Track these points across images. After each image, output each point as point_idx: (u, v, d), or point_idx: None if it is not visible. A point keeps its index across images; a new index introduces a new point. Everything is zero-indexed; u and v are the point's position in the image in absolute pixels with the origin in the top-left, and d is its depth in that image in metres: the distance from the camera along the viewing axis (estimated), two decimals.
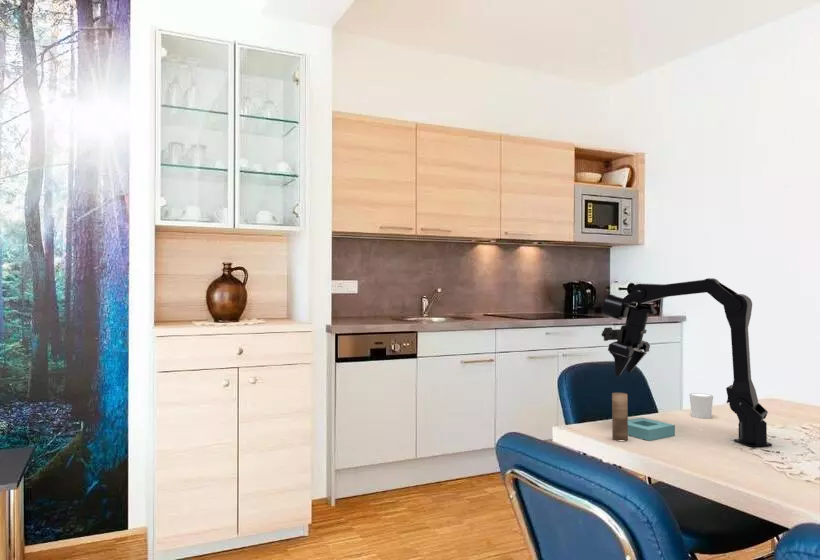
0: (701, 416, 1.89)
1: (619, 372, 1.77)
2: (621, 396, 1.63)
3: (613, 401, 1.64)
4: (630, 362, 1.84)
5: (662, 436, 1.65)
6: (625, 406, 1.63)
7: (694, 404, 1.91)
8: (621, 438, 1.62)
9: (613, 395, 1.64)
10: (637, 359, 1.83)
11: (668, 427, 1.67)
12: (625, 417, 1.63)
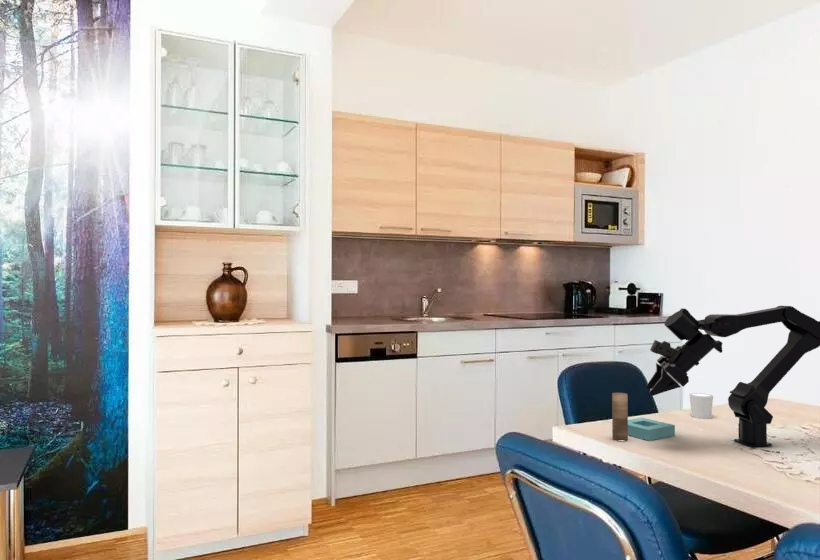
0: (701, 416, 1.89)
1: (656, 393, 1.57)
2: (621, 396, 1.63)
3: (613, 401, 1.64)
4: (655, 380, 1.66)
5: (662, 436, 1.65)
6: (625, 406, 1.63)
7: (694, 404, 1.91)
8: (621, 438, 1.62)
9: (613, 395, 1.64)
10: None
11: (668, 427, 1.67)
12: (625, 417, 1.63)
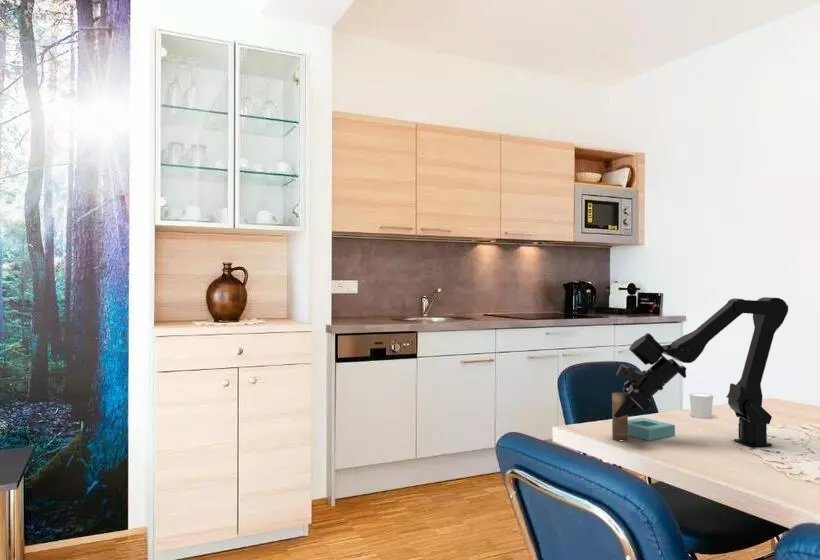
0: (701, 416, 1.89)
1: (620, 415, 1.62)
2: (621, 396, 1.63)
3: (613, 401, 1.64)
4: None
5: (662, 436, 1.65)
6: None
7: (694, 404, 1.91)
8: (621, 438, 1.62)
9: (613, 395, 1.64)
10: None
11: (668, 427, 1.67)
12: (625, 417, 1.63)
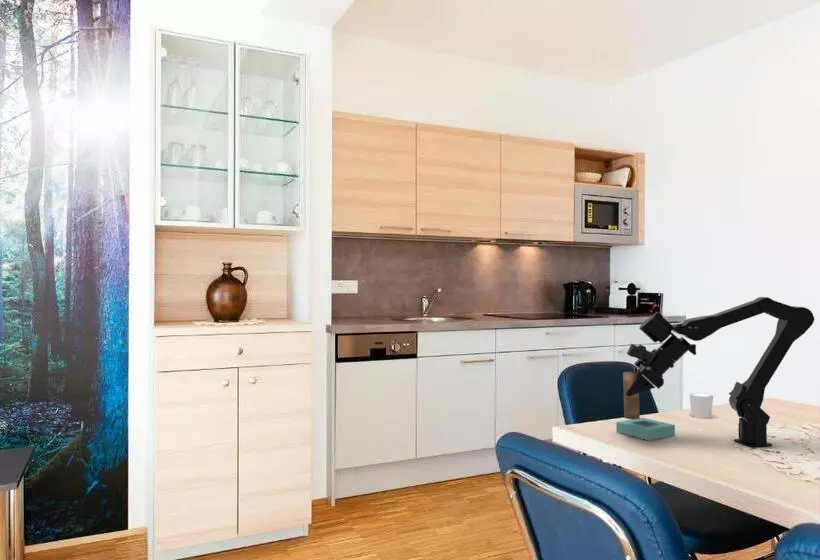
0: (701, 416, 1.89)
1: (632, 393, 1.64)
2: (632, 375, 1.65)
3: (624, 380, 1.66)
4: None
5: (662, 436, 1.65)
6: None
7: (694, 404, 1.91)
8: (633, 416, 1.65)
9: (624, 374, 1.66)
10: None
11: (668, 427, 1.67)
12: (637, 395, 1.65)
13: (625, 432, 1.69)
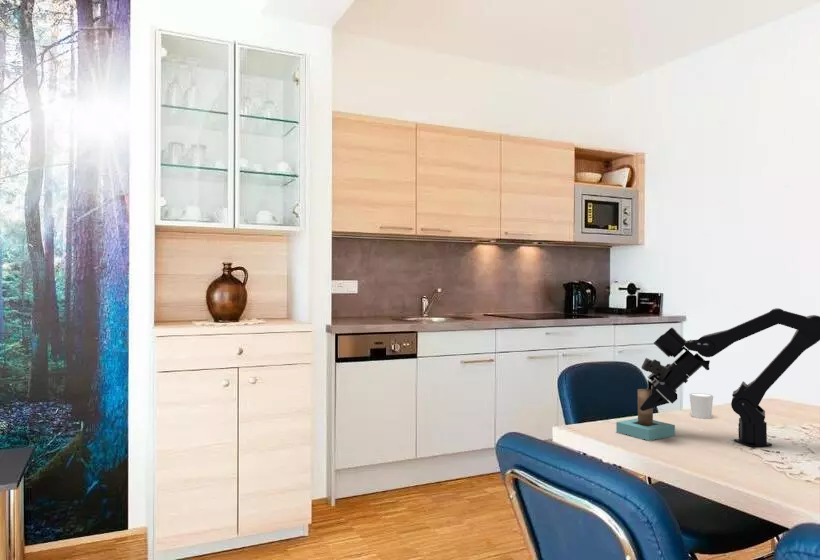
0: (701, 416, 1.89)
1: (646, 408, 1.66)
2: (647, 392, 1.68)
3: (639, 397, 1.70)
4: None
5: (662, 436, 1.65)
6: None
7: (694, 404, 1.91)
8: None
9: (639, 391, 1.70)
10: None
11: (668, 427, 1.67)
12: (650, 412, 1.68)
13: (625, 432, 1.69)
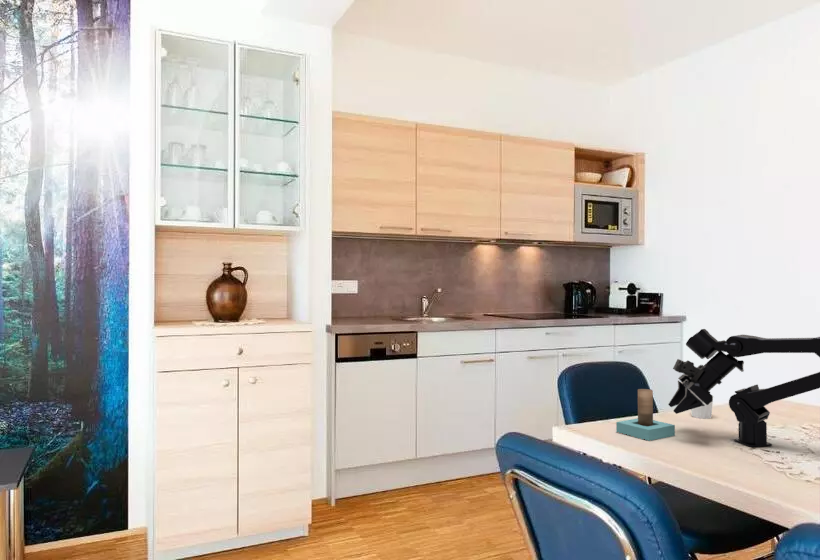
0: (701, 416, 1.89)
1: (680, 411, 1.63)
2: (647, 392, 1.68)
3: (639, 397, 1.70)
4: (677, 398, 1.72)
5: (662, 436, 1.65)
6: (650, 402, 1.68)
7: None
8: None
9: (639, 391, 1.70)
10: None
11: (668, 427, 1.67)
12: (650, 412, 1.68)
13: (625, 432, 1.69)
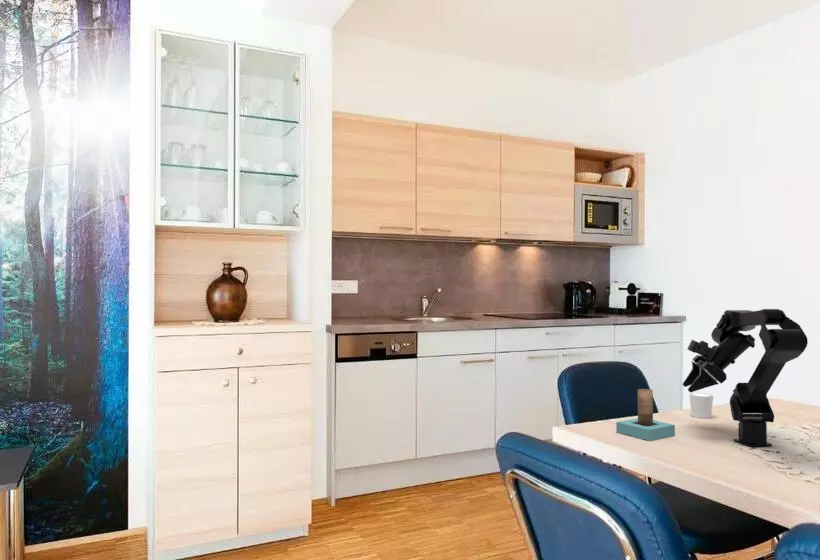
0: (701, 416, 1.89)
1: (694, 389, 1.67)
2: (647, 392, 1.68)
3: (639, 397, 1.70)
4: (691, 378, 1.76)
5: (662, 436, 1.65)
6: (650, 402, 1.68)
7: (694, 404, 1.91)
8: None
9: (639, 391, 1.70)
10: None
11: (668, 427, 1.67)
12: (650, 412, 1.68)
13: (625, 432, 1.69)
